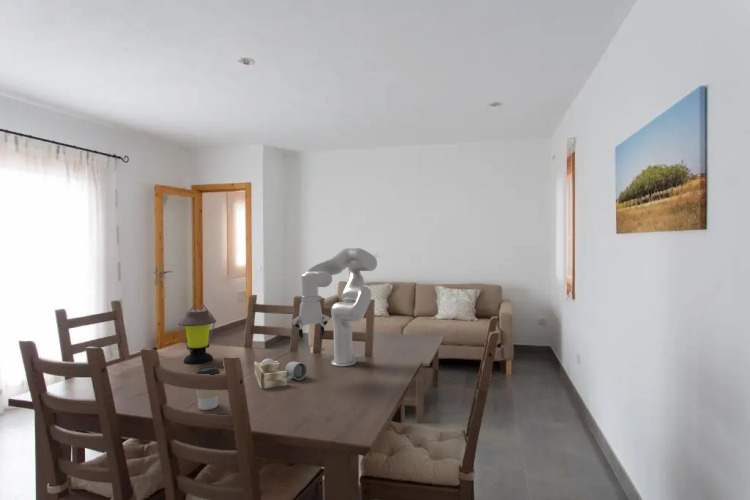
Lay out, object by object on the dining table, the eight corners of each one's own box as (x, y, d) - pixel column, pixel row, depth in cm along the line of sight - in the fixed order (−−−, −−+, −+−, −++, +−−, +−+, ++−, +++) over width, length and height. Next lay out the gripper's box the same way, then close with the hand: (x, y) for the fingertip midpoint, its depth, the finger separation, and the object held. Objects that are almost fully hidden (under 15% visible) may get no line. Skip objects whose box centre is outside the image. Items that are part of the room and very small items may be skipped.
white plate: (276, 374, 210) (276, 357, 210) (277, 375, 209) (276, 358, 209) (259, 376, 207) (259, 359, 207) (259, 377, 206) (259, 360, 206)
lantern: (212, 353, 255) (211, 301, 255) (228, 358, 242) (227, 304, 241) (168, 362, 237) (166, 306, 237) (183, 368, 224) (181, 309, 223)
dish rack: (278, 373, 213) (277, 358, 212) (286, 385, 194) (286, 369, 194) (254, 376, 208) (254, 361, 208) (261, 388, 190) (261, 372, 190)
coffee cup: (191, 406, 170) (190, 367, 170) (214, 400, 176) (213, 363, 176) (201, 412, 164) (200, 372, 164) (224, 406, 170) (223, 367, 170)
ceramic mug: (297, 374, 210) (296, 358, 210) (307, 377, 204) (306, 361, 204) (277, 380, 203) (277, 363, 202) (288, 383, 197) (287, 366, 197)
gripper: (326, 297, 212) (327, 332, 212) (290, 300, 205) (291, 336, 206) (330, 299, 205) (331, 335, 205) (293, 302, 198) (294, 340, 199)
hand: (311, 336), depth 206 cm, fingers open, 9 cm apart
